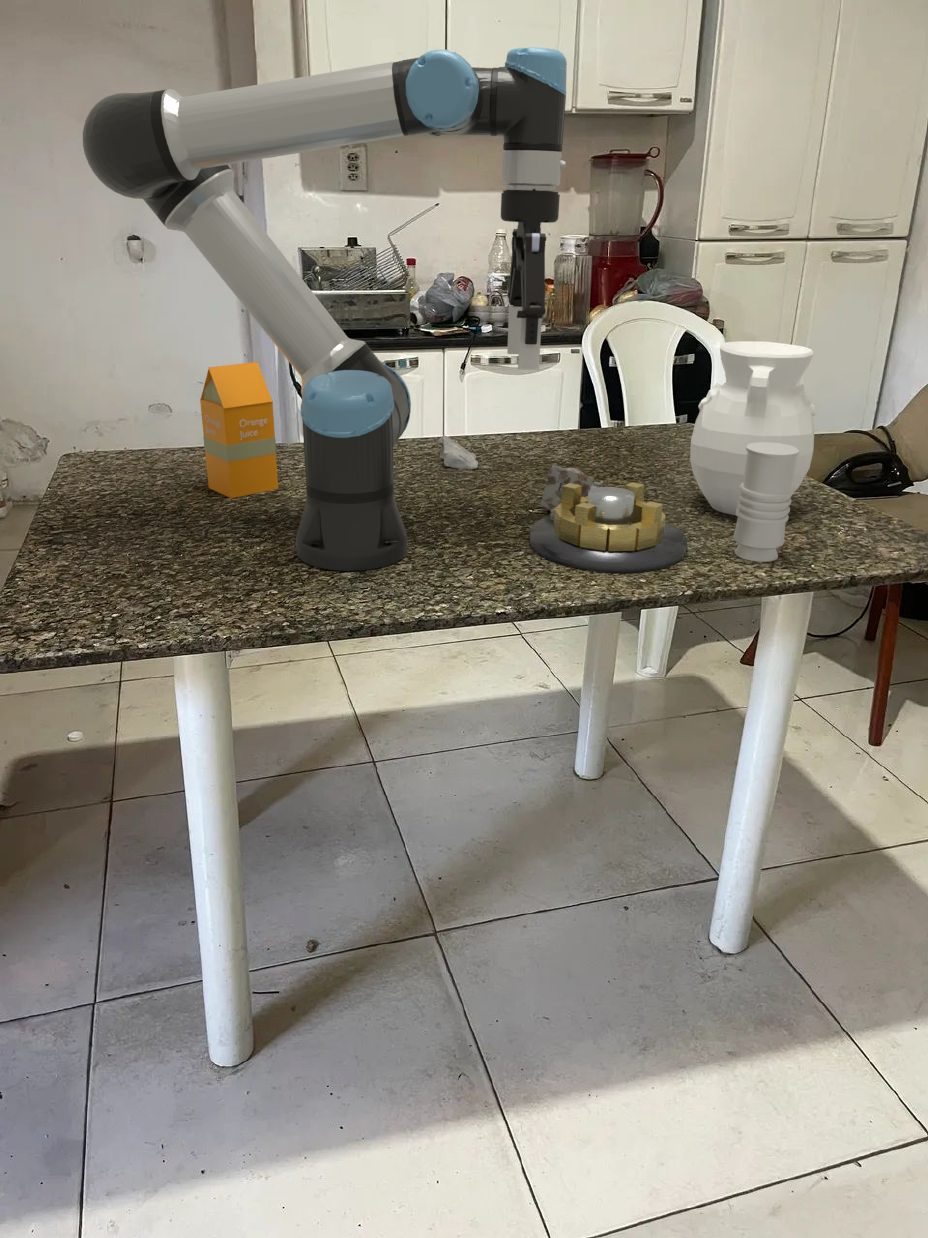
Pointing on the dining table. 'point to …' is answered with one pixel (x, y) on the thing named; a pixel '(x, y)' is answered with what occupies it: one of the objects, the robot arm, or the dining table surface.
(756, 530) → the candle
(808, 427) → the pitcher
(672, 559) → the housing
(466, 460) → the mineral specimen
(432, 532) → the dining table surface
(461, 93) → the robot arm
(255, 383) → the orange juice
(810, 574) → the dining table surface
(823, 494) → the dining table surface
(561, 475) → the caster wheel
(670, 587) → the dining table surface
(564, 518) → the ring nut
